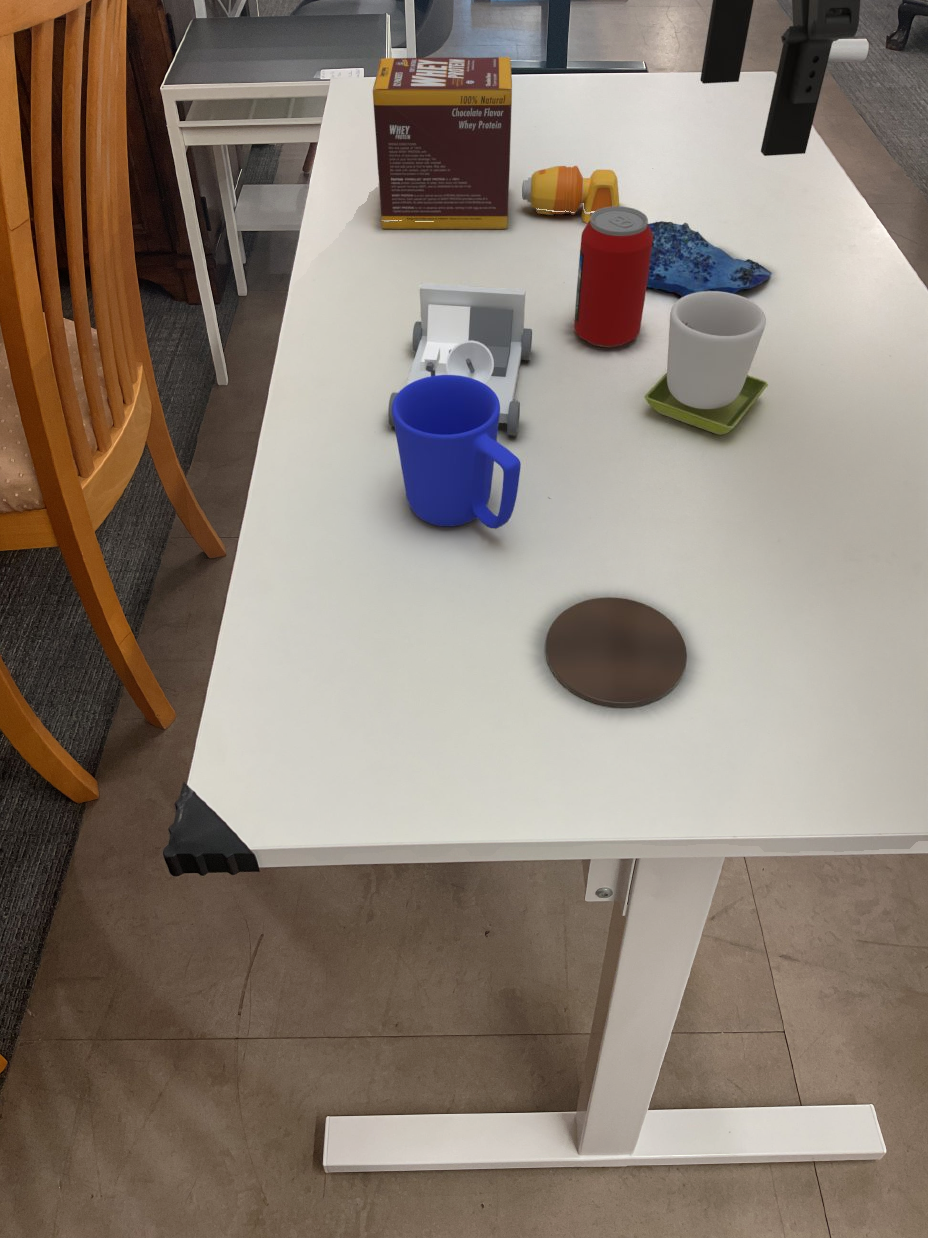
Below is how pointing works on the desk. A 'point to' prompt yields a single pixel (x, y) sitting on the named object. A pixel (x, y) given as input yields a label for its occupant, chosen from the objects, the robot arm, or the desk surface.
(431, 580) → the desk surface
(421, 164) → the supplement box
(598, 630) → the coaster
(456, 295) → the toy car
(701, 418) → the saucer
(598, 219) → the beverage can
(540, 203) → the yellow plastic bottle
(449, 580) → the desk surface
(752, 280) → the rock
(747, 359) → the cup
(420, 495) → the mug
